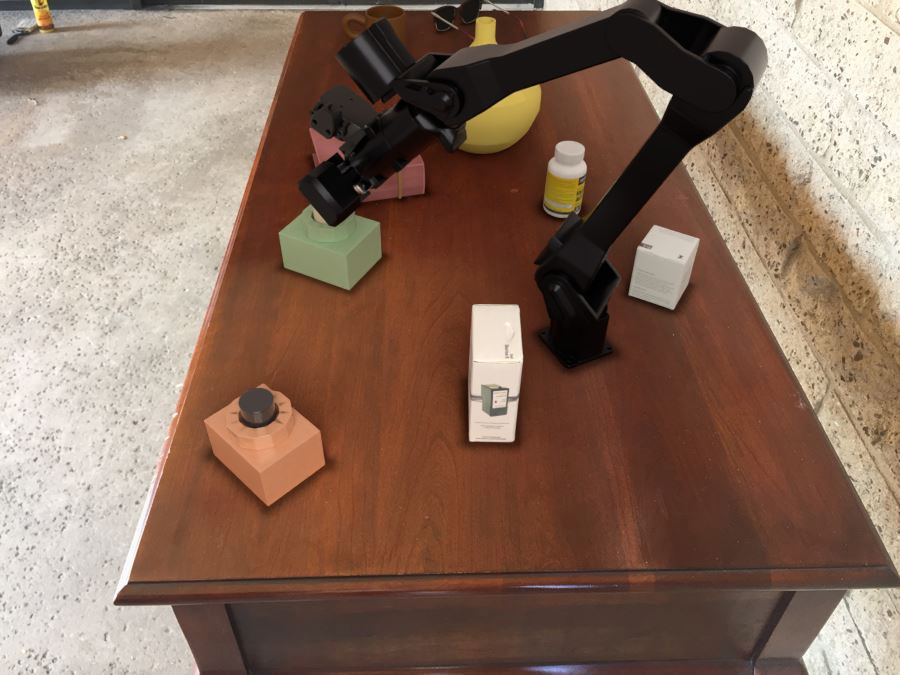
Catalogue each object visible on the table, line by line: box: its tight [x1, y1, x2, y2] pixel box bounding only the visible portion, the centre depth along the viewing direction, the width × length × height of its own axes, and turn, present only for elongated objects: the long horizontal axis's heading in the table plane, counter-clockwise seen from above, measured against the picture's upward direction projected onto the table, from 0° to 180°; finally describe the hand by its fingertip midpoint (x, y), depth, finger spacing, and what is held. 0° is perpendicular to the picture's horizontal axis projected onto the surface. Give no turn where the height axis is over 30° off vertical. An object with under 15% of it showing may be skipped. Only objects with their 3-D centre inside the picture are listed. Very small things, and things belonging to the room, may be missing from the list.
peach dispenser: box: [203, 383, 326, 507], centre depth 75 cm, size 9×7×7 cm
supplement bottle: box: [542, 140, 588, 219], centre depth 109 cm, size 5×5×10 cm
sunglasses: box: [431, 0, 528, 42], centre depth 156 cm, size 14×16×5 cm
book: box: [308, 127, 426, 203], centre depth 116 cm, size 14×15×5 cm
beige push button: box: [313, 207, 327, 224], centre depth 96 cm, size 4×4×2 cm
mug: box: [340, 4, 408, 49], centre depth 145 cm, size 12×8×9 cm, turn 92°
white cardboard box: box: [628, 224, 700, 311], centre depth 96 cm, size 6×6×7 cm
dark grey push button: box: [238, 387, 277, 428], centre depth 73 cm, size 3×3×2 cm
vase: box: [457, 16, 542, 155], centre depth 120 cm, size 18×18×19 cm
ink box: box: [467, 303, 524, 443], centre depth 79 cm, size 9×5×12 cm, turn 0°
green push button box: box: [278, 203, 383, 291], centre depth 99 cm, size 10×8×8 cm
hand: (326, 195), depth 95 cm, fingers closed
